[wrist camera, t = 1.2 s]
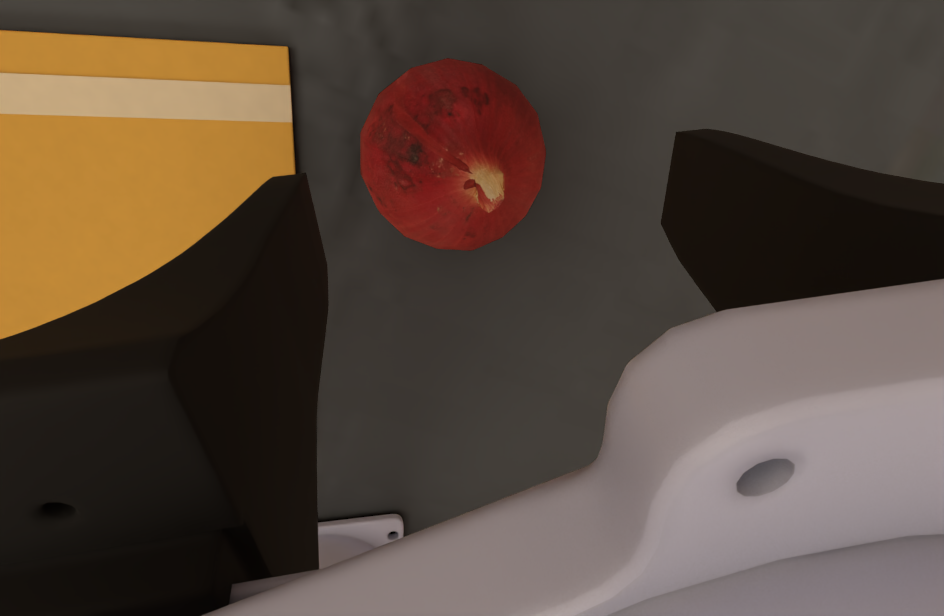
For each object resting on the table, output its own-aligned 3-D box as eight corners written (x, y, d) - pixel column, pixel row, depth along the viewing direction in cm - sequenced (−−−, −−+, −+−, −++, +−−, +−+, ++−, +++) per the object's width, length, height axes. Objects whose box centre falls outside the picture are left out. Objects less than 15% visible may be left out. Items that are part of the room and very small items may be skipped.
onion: (328, 178, 22) (334, 239, 15) (395, 26, 21) (435, 14, 14) (465, 240, 24) (527, 320, 17) (534, 106, 23) (632, 132, 16)
